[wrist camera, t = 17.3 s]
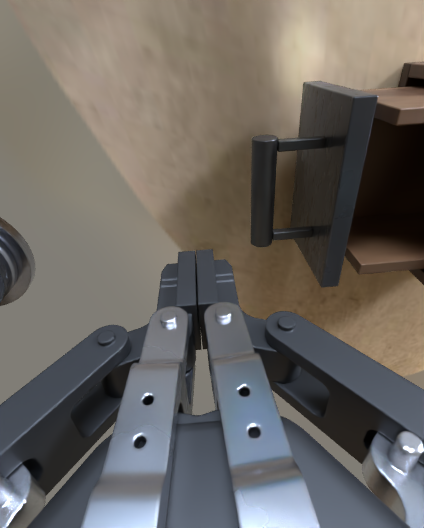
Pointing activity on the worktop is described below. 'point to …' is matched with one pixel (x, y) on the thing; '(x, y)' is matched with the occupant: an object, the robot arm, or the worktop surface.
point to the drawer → (349, 181)
